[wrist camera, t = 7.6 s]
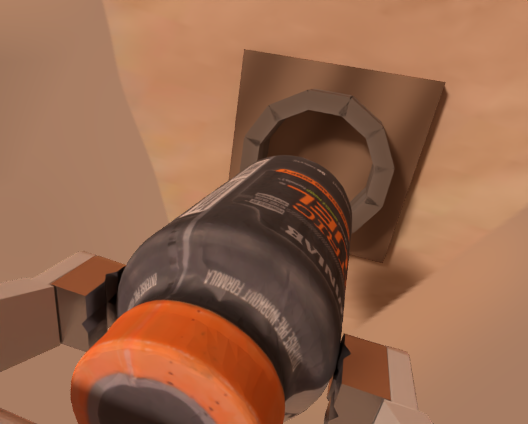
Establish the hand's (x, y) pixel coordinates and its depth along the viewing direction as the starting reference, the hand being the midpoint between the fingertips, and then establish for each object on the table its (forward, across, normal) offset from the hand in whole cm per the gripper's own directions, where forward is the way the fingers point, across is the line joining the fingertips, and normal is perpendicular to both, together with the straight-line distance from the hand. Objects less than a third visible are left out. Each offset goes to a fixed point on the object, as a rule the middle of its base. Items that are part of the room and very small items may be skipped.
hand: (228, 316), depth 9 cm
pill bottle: (+8, 0, 0) cm, 8 cm away
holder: (+20, 0, 0) cm, 20 cm away
